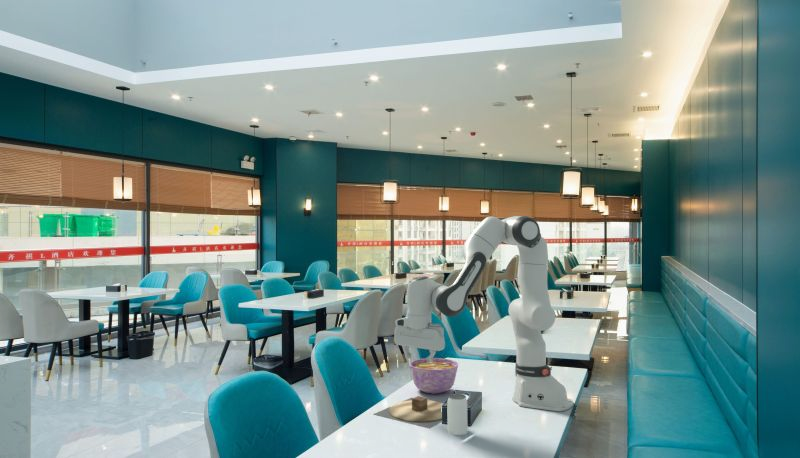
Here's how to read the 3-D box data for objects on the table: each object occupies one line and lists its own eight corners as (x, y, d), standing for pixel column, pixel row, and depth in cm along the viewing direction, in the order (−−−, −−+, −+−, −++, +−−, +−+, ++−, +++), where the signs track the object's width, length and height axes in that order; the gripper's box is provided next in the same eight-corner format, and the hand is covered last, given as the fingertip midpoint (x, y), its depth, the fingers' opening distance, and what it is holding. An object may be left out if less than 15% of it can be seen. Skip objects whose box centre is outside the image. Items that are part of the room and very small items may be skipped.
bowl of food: (399, 394, 221) (399, 365, 221) (426, 382, 237) (426, 355, 237) (442, 402, 209) (442, 372, 209) (467, 389, 226) (467, 361, 226)
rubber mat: (465, 410, 200) (465, 408, 200) (429, 430, 180) (429, 428, 180) (411, 399, 214) (411, 397, 214) (372, 415, 195) (372, 414, 195)
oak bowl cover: (461, 409, 200) (461, 395, 200) (428, 426, 182) (428, 412, 182) (412, 398, 213) (412, 386, 213) (376, 414, 195) (376, 400, 195)
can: (466, 437, 174) (466, 399, 174) (446, 436, 175) (446, 398, 175) (468, 430, 180) (468, 393, 180) (448, 429, 181) (448, 392, 181)
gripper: (448, 323, 194) (448, 362, 194) (401, 318, 206) (401, 354, 206) (438, 325, 189) (438, 365, 189) (391, 320, 201) (391, 357, 201)
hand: (419, 360), depth 197 cm, fingers open, 8 cm apart
